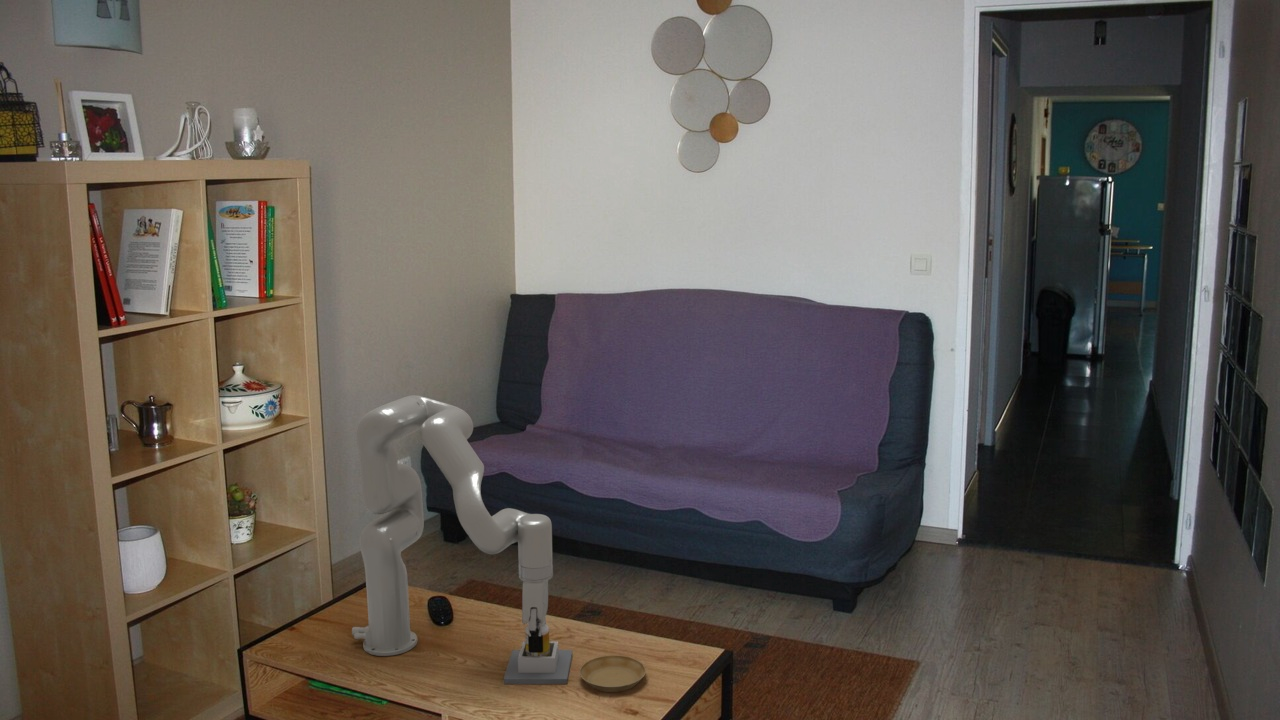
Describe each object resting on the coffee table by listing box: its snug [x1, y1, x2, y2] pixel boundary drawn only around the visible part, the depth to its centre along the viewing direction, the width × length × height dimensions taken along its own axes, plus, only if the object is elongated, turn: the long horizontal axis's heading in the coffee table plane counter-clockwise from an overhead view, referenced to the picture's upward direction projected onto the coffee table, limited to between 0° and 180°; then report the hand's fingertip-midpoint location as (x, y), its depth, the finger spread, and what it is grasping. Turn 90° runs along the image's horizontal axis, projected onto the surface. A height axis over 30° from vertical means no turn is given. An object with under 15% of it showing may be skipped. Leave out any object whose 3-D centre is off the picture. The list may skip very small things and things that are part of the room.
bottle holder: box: [503, 640, 573, 685], centre depth 233 cm, size 14×14×5 cm
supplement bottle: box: [524, 617, 550, 656], centre depth 232 cm, size 5×5×10 cm
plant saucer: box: [578, 654, 647, 693], centre depth 228 cm, size 15×15×3 cm
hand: (537, 644), depth 232 cm, fingers closed on supplement bottle, 5 cm apart
